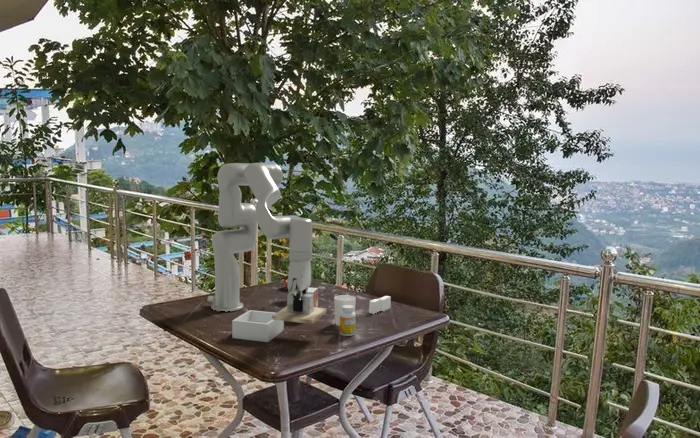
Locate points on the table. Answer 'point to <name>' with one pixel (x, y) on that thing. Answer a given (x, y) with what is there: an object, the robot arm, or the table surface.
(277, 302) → the table surface
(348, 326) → the supplement bottle
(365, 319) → the table surface
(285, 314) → the cover plate
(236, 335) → the shallow square tray
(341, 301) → the white cup
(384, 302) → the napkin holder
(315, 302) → the small box
